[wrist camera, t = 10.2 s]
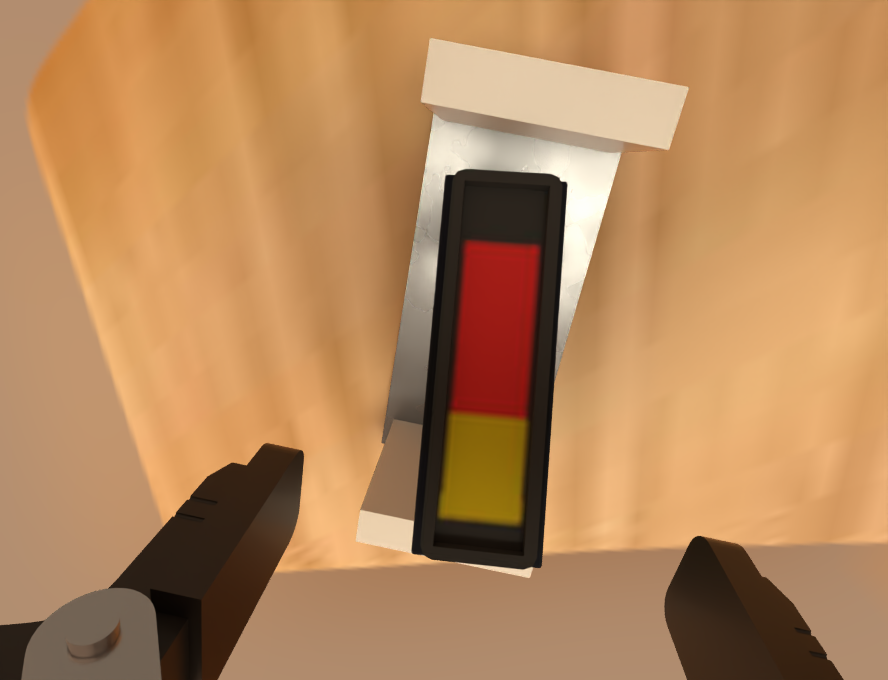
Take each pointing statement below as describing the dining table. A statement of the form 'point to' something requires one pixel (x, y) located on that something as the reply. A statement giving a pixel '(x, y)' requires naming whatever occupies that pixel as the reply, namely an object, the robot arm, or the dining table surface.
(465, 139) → the rail plate
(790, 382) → the dining table surface
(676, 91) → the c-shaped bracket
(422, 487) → the magazine
